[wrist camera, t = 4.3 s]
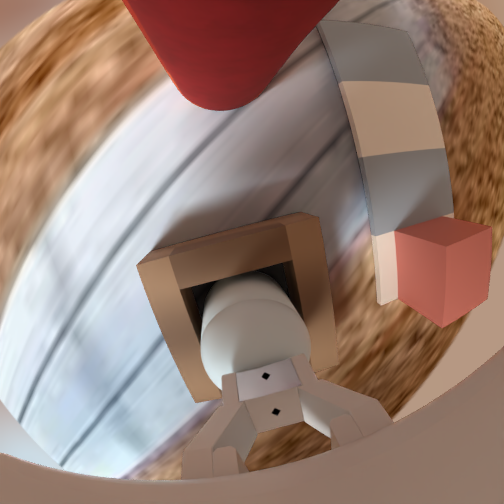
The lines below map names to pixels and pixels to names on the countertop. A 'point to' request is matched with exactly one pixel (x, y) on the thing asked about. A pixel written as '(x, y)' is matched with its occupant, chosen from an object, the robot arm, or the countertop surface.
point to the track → (390, 135)
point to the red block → (443, 267)
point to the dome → (249, 325)
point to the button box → (233, 263)
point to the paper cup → (225, 43)
